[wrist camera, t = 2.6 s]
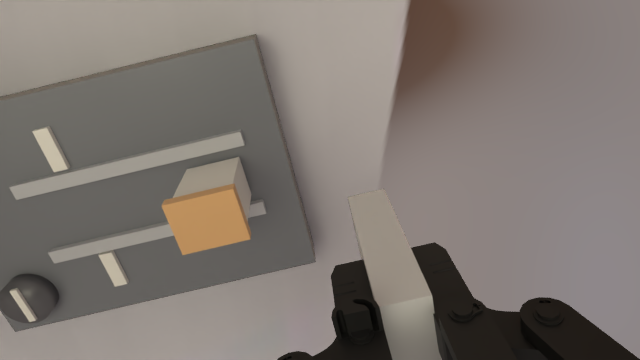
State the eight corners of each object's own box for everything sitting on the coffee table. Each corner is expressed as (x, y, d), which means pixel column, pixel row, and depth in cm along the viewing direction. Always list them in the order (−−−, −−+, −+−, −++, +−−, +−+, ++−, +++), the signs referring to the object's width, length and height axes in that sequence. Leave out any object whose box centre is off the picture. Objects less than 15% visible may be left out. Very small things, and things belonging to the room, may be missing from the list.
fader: (199, 209, 26) (182, 255, 21) (182, 166, 24) (161, 205, 20) (255, 196, 25) (250, 239, 21) (241, 152, 24) (233, 188, 20)
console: (31, 310, 30) (4, 345, 27) (-94, 120, 24) (-145, 139, 21) (313, 244, 30) (316, 273, 27) (255, 34, 24) (252, 42, 21)
